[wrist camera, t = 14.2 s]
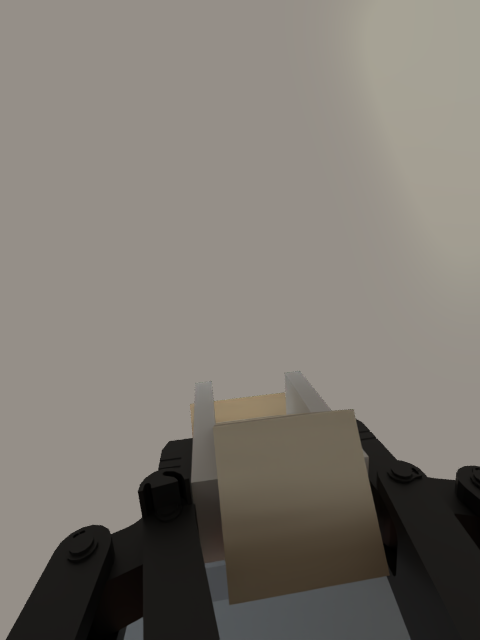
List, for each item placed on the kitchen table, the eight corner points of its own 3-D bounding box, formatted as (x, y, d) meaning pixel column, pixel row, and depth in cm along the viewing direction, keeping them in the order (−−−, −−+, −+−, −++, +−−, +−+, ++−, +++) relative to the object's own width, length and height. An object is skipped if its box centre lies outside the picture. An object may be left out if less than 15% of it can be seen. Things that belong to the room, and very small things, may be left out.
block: (464, 561, 7) (403, 343, 9) (142, 621, 6) (135, 372, 8) (278, 454, 29) (270, 398, 30) (201, 465, 28) (196, 407, 30)
